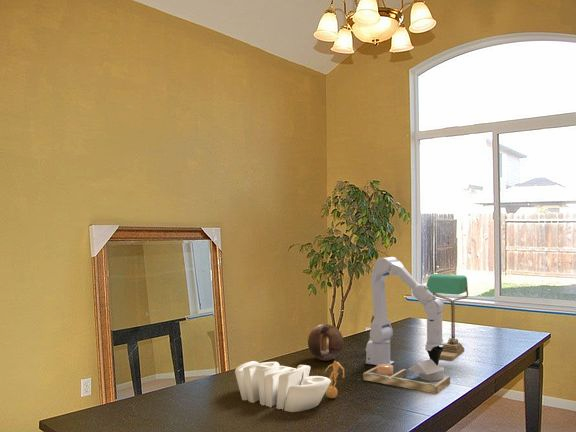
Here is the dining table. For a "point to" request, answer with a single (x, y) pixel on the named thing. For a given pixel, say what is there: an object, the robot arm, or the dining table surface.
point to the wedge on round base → (428, 370)
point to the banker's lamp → (456, 287)
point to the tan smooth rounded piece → (385, 369)
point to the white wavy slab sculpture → (280, 385)
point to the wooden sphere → (325, 342)
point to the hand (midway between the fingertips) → (434, 365)
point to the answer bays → (405, 381)
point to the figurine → (332, 390)
